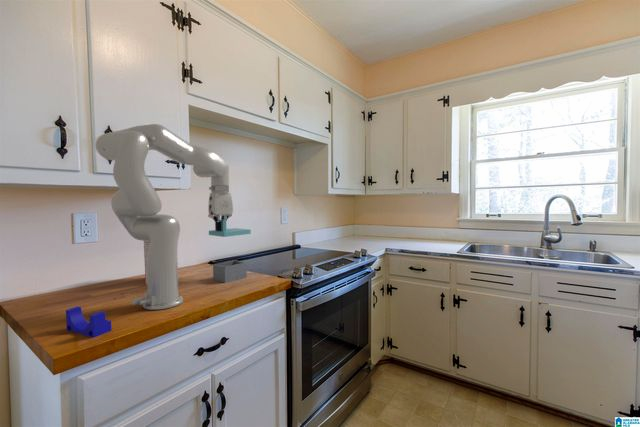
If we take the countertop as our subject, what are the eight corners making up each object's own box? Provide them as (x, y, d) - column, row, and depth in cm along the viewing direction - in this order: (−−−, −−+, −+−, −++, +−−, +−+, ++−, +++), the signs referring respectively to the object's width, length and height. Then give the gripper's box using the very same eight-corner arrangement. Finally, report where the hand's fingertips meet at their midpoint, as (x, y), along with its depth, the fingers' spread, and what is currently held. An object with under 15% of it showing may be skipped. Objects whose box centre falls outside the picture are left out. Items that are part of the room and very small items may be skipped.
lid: (224, 236, 126) (224, 220, 126) (208, 235, 133) (208, 219, 133) (250, 233, 138) (250, 219, 138) (235, 232, 145) (234, 218, 145)
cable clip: (111, 331, 82) (110, 310, 82) (94, 338, 78) (93, 316, 78) (84, 324, 86) (83, 304, 86) (66, 330, 82) (65, 310, 82)
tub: (225, 282, 129) (225, 267, 129) (213, 279, 134) (213, 264, 134) (246, 277, 139) (246, 262, 139) (234, 274, 144) (234, 260, 144)
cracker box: (147, 277, 138) (146, 233, 137) (162, 276, 140) (161, 233, 139) (144, 285, 125) (142, 237, 124) (160, 283, 128) (158, 236, 127)
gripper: (209, 189, 122) (210, 232, 123) (239, 190, 135) (240, 229, 136) (199, 189, 127) (200, 231, 127) (229, 190, 139) (229, 228, 140)
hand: (220, 230), depth 132 cm, fingers closed on lid, 1 cm apart
